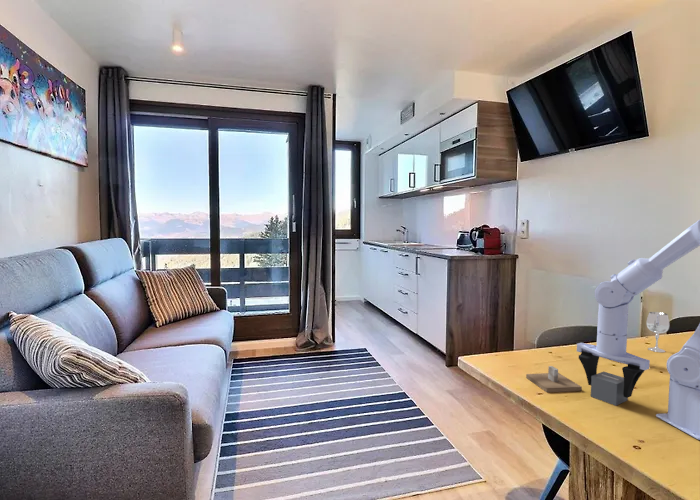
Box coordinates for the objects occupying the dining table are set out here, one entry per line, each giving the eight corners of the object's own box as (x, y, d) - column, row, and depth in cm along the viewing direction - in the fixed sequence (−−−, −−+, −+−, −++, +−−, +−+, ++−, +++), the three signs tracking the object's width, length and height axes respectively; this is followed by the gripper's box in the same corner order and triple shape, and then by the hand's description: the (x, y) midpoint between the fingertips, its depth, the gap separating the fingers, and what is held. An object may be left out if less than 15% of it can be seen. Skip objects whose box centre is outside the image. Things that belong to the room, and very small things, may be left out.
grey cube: (627, 400, 89) (628, 378, 89) (615, 405, 87) (616, 383, 86) (602, 391, 94) (603, 371, 94) (590, 396, 91) (591, 375, 91)
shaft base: (581, 390, 95) (582, 373, 94) (546, 392, 94) (547, 375, 93) (558, 376, 103) (558, 361, 103) (526, 377, 103) (526, 362, 102)
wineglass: (640, 348, 127) (642, 312, 127) (653, 346, 129) (655, 310, 128) (659, 353, 122) (661, 316, 121) (672, 352, 124) (674, 314, 123)
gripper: (657, 338, 85) (653, 398, 86) (588, 323, 98) (586, 376, 99) (642, 343, 82) (638, 405, 83) (572, 327, 94) (570, 381, 95)
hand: (609, 390), depth 90 cm, fingers open, 7 cm apart
